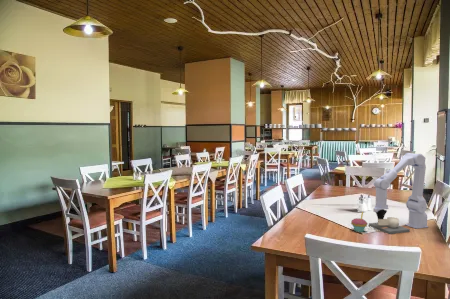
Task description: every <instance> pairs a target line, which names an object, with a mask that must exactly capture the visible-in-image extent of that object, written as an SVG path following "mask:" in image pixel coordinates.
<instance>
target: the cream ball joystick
mask: <svg viewBox="0 0 450 299" xmlns="http://www.w3.org/2000/svg"><path fill="white" fill-rule="evenodd" d="M377 222H378V225H389V226H394V227H397V226H400V225H399V224H400V219H399V218H398V217H394V216H393V217H392V216H391V217H390V216H389V217H387V218H384V219H378V218H377Z"/></svg>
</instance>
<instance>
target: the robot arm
mask: <svg viewBox="0 0 450 299" xmlns="http://www.w3.org/2000/svg"><path fill="white" fill-rule="evenodd" d="M408 166H411V167H412V168H413V169H414V171H413V172H414V173H413V179H412V180H413V181H412V189H411V194H410V195H409V196H408V198H407V201H406V204H405V206H406V208H407V210H408V223H405V224H404V226H407V227H410V228H414V229H423V228H429V226H428V214H427V213H426V211H427V209H428V208H427V200H426V199H425V197H424V196H423V194H424V186H425V185H424V184H425V176H426V169H427V167H426V156H424V155H423V154H422V153H412V152H405V154H404V155H403V156H402V157H401V160H400V161H399V162H398V163H397V164H396V165H395V166H394V167H393V168H392V169H386V170H385V173H384V174H383V175H381V176H380V177H379V178H376V179H375V180H374V182H373V186H374V187H375V188H374V189H375V205H374V208H373V212H374V213H375V215H376V217H377V220H378V219H385V215H386V214H387V212H388V210H389V205H388V204H387V203H388V202H387V198H388V197H387V196H388V189H389V188H390V186H391V183H392V182H393V181H394V180H395V179H396V178H397V177H398V174H399V173H400V172H401V171H402V170H404V169H405V168H406V167H408Z"/></svg>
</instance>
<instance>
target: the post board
mask: <svg viewBox="0 0 450 299" xmlns="http://www.w3.org/2000/svg"><path fill="white" fill-rule="evenodd" d="M368 226H369V227H370V226H371V227H370V228H373V229H375V228H376V230H377V231H381V232H383V233H385V234H388V235H394V234H403V233H410V232H411V231H410V229H409V228H407V227H404V226H401V225H399V226H397V227H394V226H389V225H378V221H377V222H369V223H368Z"/></svg>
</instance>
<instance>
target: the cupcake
mask: <svg viewBox="0 0 450 299" xmlns="http://www.w3.org/2000/svg"><path fill="white" fill-rule="evenodd" d="M363 214H364V211H362V212H361V214H360V216H361V217H360V218H359V217H357V218H353V219H351V222H350V224H351V226H353V230H354V232H358V233H363V232H364V231H365V228H366V227H368V222H367V221H366V220H365V219H363V216H364V215H363Z"/></svg>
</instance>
